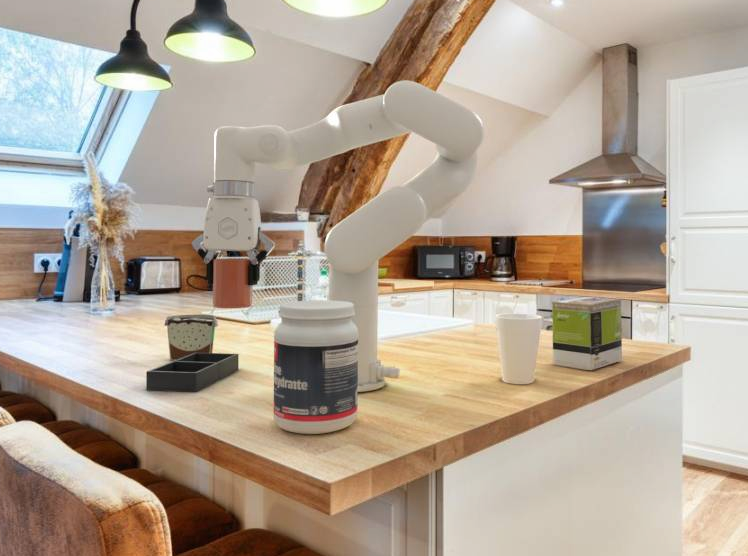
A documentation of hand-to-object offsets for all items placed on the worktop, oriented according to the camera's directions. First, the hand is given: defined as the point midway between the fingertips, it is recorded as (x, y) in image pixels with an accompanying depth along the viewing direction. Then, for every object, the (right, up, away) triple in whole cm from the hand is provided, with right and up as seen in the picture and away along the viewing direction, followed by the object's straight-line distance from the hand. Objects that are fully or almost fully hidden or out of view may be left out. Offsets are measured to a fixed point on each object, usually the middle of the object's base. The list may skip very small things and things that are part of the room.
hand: (232, 283), depth 118 cm
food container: (-16, -20, +26) cm, 36 cm away
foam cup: (+56, -20, +6) cm, 60 cm away
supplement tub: (+20, -20, -24) cm, 37 cm away
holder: (-9, -20, +5) cm, 22 cm away
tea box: (+75, -20, +24) cm, 81 cm away
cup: (0, -4, 0) cm, 4 cm away
